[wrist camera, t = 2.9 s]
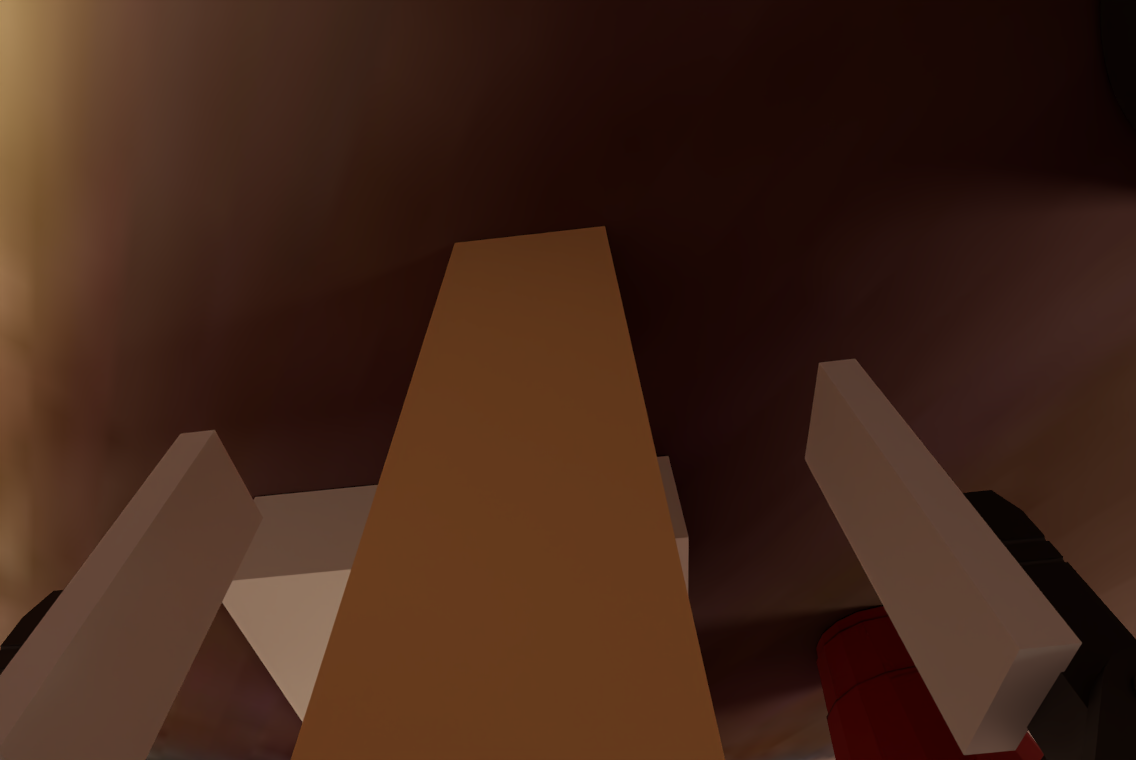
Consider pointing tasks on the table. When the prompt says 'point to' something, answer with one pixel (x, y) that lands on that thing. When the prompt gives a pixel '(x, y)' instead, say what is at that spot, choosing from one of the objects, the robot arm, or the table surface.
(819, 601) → the table surface
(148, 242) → the table surface
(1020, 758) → the plastic cup
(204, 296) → the table surface
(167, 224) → the table surface
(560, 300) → the plug block
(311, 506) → the socket plate
